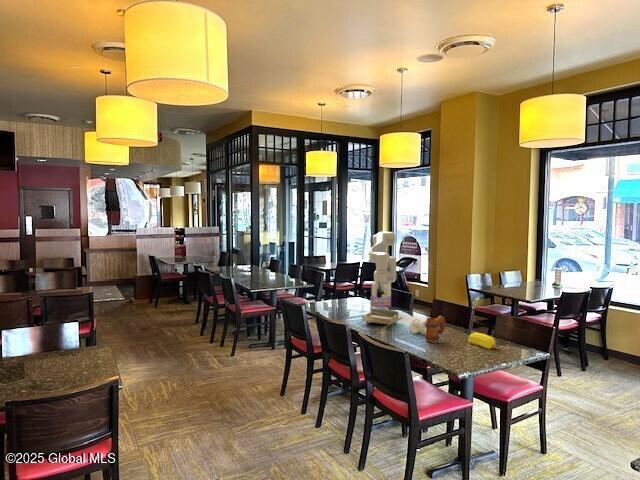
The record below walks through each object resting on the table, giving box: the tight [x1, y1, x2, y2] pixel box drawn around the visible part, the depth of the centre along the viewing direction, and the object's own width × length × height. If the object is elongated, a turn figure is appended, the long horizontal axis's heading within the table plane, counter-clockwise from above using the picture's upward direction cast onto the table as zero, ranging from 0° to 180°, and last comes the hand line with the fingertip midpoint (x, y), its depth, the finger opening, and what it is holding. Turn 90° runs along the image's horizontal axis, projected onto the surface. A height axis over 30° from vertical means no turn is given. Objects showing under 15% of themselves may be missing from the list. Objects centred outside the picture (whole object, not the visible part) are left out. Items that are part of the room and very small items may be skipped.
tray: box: [361, 307, 399, 326], centre depth 307 cm, size 17×20×7 cm
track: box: [363, 316, 403, 330], centre depth 312 cm, size 34×16×1 cm, turn 151°
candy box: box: [370, 281, 392, 308], centre depth 306 cm, size 14×6×16 cm, turn 84°
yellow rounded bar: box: [468, 332, 496, 350], centre depth 258 cm, size 18×7×8 cm
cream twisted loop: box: [408, 318, 427, 335], centre depth 283 cm, size 11×12×9 cm
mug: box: [424, 315, 446, 344], centre depth 265 cm, size 15×8×15 cm, turn 117°
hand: (381, 296), depth 307 cm, fingers closed on candy box, 7 cm apart
